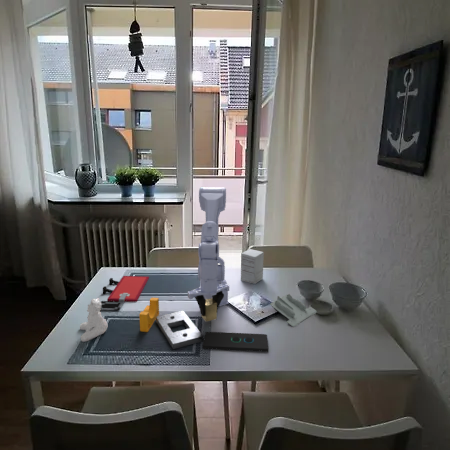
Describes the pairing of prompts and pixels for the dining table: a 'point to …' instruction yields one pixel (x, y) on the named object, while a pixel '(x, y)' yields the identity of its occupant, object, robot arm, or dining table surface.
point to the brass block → (210, 310)
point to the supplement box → (252, 266)
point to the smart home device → (235, 341)
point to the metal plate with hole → (179, 337)
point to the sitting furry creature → (93, 322)
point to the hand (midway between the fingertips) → (208, 313)
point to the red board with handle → (124, 291)
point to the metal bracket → (292, 309)
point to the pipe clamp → (149, 315)
